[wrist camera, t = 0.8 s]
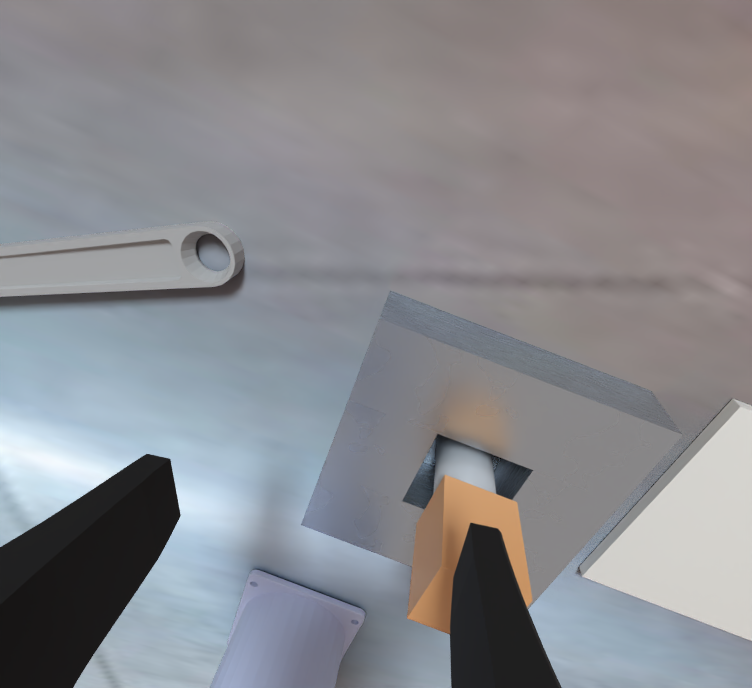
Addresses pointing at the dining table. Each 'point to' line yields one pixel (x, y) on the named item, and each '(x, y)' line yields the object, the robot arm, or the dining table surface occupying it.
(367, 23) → the dining table surface
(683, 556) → the mat
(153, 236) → the adjustable wrench
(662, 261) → the dining table surface
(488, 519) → the key
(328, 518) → the socket block
